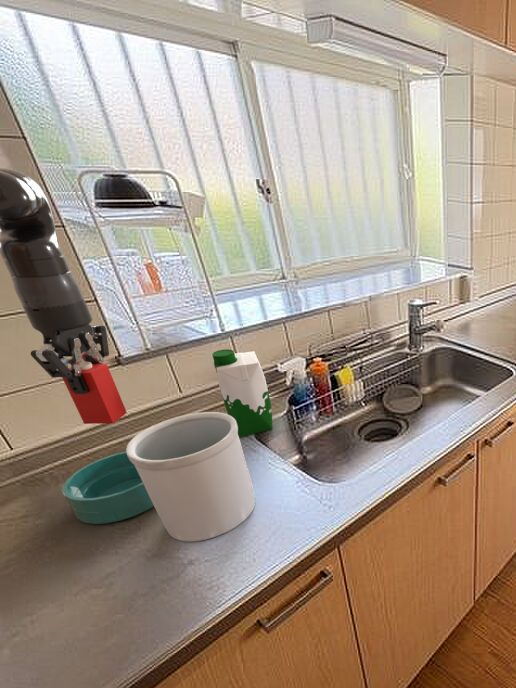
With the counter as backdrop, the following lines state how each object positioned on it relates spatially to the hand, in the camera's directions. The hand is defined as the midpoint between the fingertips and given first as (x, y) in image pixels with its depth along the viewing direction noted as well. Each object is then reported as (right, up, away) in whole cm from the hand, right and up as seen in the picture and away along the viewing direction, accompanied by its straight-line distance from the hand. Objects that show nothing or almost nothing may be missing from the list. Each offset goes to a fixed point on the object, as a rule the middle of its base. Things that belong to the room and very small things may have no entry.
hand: (91, 386), depth 80 cm
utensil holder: (+25, -23, -2) cm, 34 cm away
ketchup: (-1, -6, +3) cm, 7 cm away
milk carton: (+17, -10, +23) cm, 30 cm away
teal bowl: (+7, -21, 0) cm, 22 cm away
